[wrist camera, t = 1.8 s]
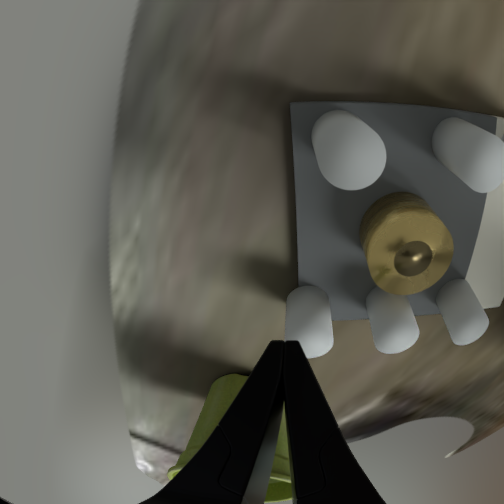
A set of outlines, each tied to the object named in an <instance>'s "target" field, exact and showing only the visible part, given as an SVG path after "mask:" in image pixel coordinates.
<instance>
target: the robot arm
mask: <svg viewBox="0 0 504 504" xmlns="http://www.w3.org/2000/svg"><path fill="white" fill-rule="evenodd" d="M283 408H285V420H286V431H287V442H288V453H289V465H290V476H291V488H292V500H293V504H386V503H385V501H384V500H383V499H382V498H381V496H380V495H379V493H378V492H377V491H376V489H375V488H374V486H373V485H372V483H371V482H370V480H369V479H368V477H367V476H366V474H365V473H364V471H363V470H362V468H361V467H360V466H359V464H358V462H357V460H356V459H355V457H354V455H353V454H352V452H351V450H350V449H349V446H348V445H347V443H346V441H345V439H344V437H343V434H342V432H341V430H340V428H338V424H337V422H336V420H335V417H334V415H333V413H332V411H331V409H330V407H329V405H328V402H327V400H326V398H325V396H324V394H323V392H322V389H321V387H320V385H319V383H318V381H317V379H316V377H315V374H314V372H313V370H312V368H311V366H310V364H309V362H308V359H307V357H306V355H305V353H304V351H303V349H302V347H301V344H300V342H299V341H298V340H286V341H285V342H284V341H283V340H272V341H271V342H270V343H269V344H268V346H267V348H266V349H265V351H264V353H263V354H262V356H261V358H260V359H259V361H258V362H257V364H256V366H255V367H254V369H253V370H252V372H251V374H250V375H249V377H248V378H247V380H246V381H245V383H244V385H243V386H242V388H241V389H240V391H239V392H238V394H237V396H236V397H235V399H234V400H233V402H232V403H231V405H230V406H229V408H228V409H227V411H226V412H225V414H224V415H223V417H222V418H221V420H220V421H219V423H218V425H219V426H218V425H217V426H216V427H215V429H214V430H213V432H212V433H211V435H210V436H209V437H208V439H207V440H206V441H205V443H204V444H203V445H202V447H201V448H200V449H199V450H198V451H197V453H196V454H195V455H194V456H193V457H192V458H191V460H190V461H189V462H188V463H187V464H186V465H185V466H184V467H183V468H182V469H181V470H180V471H179V472H178V473H177V474H176V475H175V476H174V477H173V478H172V480H171V481H170V482H169V483H168V484H167V485H166V486H165V487H164V488H163V489H161V490H160V491H159V492H158V493H156V494H155V495H154V496H152V497H151V498H149V499H147V500H145V501H143V502H141V503H139V504H264V501H265V497H266V493H267V488H268V484H269V479H270V474H271V470H272V465H273V460H274V455H275V450H276V445H277V440H278V435H279V430H280V425H281V419H282V414H283ZM0 504H12V503H10V502H9V501H7V500H5V499H3V498H1V497H0Z"/></svg>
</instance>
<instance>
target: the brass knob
mask: <svg viewBox="0 0 504 504" xmlns="http://www.w3.org/2000/svg"><path fill="white" fill-rule="evenodd" d="M359 237H360V242H361V245H362V248H363V251H364V254H365V258H366V261H367V264H368V267H369V271H370V274H371V277H372V279H373V280H374V282H375V283H376V284H377V285H378V287H380V288H381V289H382V290H384V291H386V292H389V293H391V294H396V295H410V294H414V293H418V292H421V291H423V290H425V289H427V288H429V287H430V286H432V285H433V284H435V283H436V282H437V281H438V280H439V279H440V278H441V277H442V276H443V275H444V273H445V272H446V271H447V269H448V267H449V265H450V263H451V260H452V257H453V251H454V245H453V239H452V236H451V234H450V232H449V230H448V229H447V228H446V226H445V225H444V224H443V222H442V221H441V220H440V218H439V217H438V216H437V215H436V213H435V212H434V211H433V209H432V208H431V207H430V206H429V204H428V203H427V202H426V201H425V200H424V199H423V198H421V197H420V196H418V195H416V194H413V193H409V192H395V193H391V194H388V195H385V196H383V197H381V198H380V199H378V200H377V201H375V202H374V203H373V204H372V205H371V206H370V207H369V208H368V210H367V211H366V212H365V214H364V216H363V218H362V220H361V224H360V229H359Z"/></svg>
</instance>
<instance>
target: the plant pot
mask: <svg viewBox="0 0 504 504" xmlns="http://www.w3.org/2000/svg"><path fill="white" fill-rule="evenodd" d="M248 377H249V376H242V375H239V374H236V373H235V374H229V375H225V376H222V377H220V378H218V379H217V380H216V381H214V383H213V384H212V385H211V388H210V391H209V393H208V396H207V398H206V401H205V403H204V406H203V408H202V411H201V413H200V416H199V418H198V421H197V423H196V426H195V428H194V430H193V433H192V435H191V438H190V440H189V443H188V445H187V447H186V450H185V451H184V452H183V453H182V454H181V455H180V457H179V459H178V462H177V464H176V466H173V467H171V468H170V469H169V470H168V473H167V477H168V478H169V480H172V478H173V477H174V476H175V475H176V474H177V473H178V472H179V471H180V470H181V469H182V468H183V467H184V466H185V465H186V464H187V463H188V462H189V461H190V460H191V458H192V457H193V456H194V455H195V454H196V453H197V451H198V450H199V449H200V448H201V447H202V445H203V444H204V443H205V441H206V440H207V439H208V437H209V436H210V435H211V433H212V432H213V430H214V429H215V427H216V426H217V425H218V423H219V421H220V420H221V418H222V417H223V415H224V414H225V412H226V411H227V409H228V408H229V406H230V405H231V403H232V402H233V400H234V399H235V397H236V396H237V394H238V392H239V391H240V389H241V388H242V386H243V385H244V383H245V381H246V380H247V378H248ZM218 426H219V425H218ZM291 499H292V488H291V476H290V465H289V453H288V442H287V431H286V420H285V408H283V414H282V419H281V425H280V430H279V435H278V440H277V445H276V450H275V455H274V460H273V465H272V470H271V474H270V479H269V484H268V488H267V493H266V497H265V501H264V503H267V502H280V501H286V500H291Z"/></svg>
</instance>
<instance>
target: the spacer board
mask: <svg viewBox="0 0 504 504" xmlns="http://www.w3.org/2000/svg"><path fill="white" fill-rule="evenodd" d="M290 114H291V127H292V142H293V157H294V175H295V194H296V217H297V244H298V283H299V288H296V289H294V290H293V291H292V292H291V293H290V294H289V295H288V297H287V300H286V321H285V341H286V340H298V341H299V342H300V344H301V347H302V349H303V351H304V353H305V355H306V357H307V358H315V357H319V356H321V355H324V354H325V353H327V352H328V351H329V350H330V349H331V348H332V346H333V341H334V340H333V330H332V321H334V320H357V319H369V320H370V325H371V329H372V334H373V339H374V344H375V347H376V349H377V350H379V351H380V352H382V353H387V354H393V353H399V352H402V351H404V350H406V349H408V348H409V347H411V346H412V345H413V344H414V343H415V342H416V341H417V339H418V337H419V328H418V325H417V323H416V320H415V317H414V316H418V315H430V314H442V317H443V319H444V322H445V324H446V326H447V329H448V331H449V334H450V336H451V339H452V341H453V343H455V344H456V345H466V344H469V343H472V342H474V341H475V340H477V339H478V338H480V337H481V336H482V335H483V334H484V332H485V331H486V330H487V328H488V325H489V319H488V317H487V315H486V313H485V311H484V309H486V308H494V307H500V305H501V302H502V300H503V298H504V118H503V117H498V116H493V115H488V114H482V113H476V112H470V111H463V110H456V109H449V108H441V107H432V106H423V105H412V104H399V103H382V102H355V101H313V102H290ZM395 192H409V193H413V194H416V195H418V196H420V197H421V198H423V199H424V200H425V201H426V202H427V203H428V204H429V206H430V207H431V208H432V209H433V211H434V212H435V213H436V215H437V216H438V217H439V218H440V220H441V221H442V222H443V224H444V225H445V226H446V228H447V229H448V230H449V232H450V234H451V236H452V239H453V245H454V251H453V257H452V260H451V263H450V265H449V267H448V269H447V271H446V272H445V273H444V275H443V276H442V277H441V278H440V279H439V280H438V281H437V282H436V283H435V284H433V285H432V286H430V287H429V288H427V289H425V290H423V291H421V292H418V293H414V294H410V295H396V294H391V293H389V292H386V291H384V290H382V289H381V288H380V287H378V285H377V284H376V283H375V282H374V280H373V279H372V277H371V274H370V271H369V267H368V264H367V261H366V258H365V254H364V251H363V248H362V245H361V242H360V237H359V229H360V224H361V220H362V218H363V216H364V214H365V212H366V211H367V210H368V208H369V207H370V206H371V205H372V204H373V203H374V202H375V201H377V200H378V199H380V198H381V197H383V196H385V195H388V194H391V193H395Z"/></svg>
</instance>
